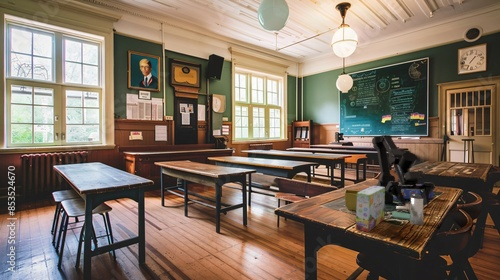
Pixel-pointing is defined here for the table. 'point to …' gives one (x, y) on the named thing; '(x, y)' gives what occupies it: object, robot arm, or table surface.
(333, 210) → the table surface
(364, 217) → the snack box
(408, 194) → the pencil case
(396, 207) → the chalk
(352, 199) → the flower pot
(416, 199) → the bottle
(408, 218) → the mat
